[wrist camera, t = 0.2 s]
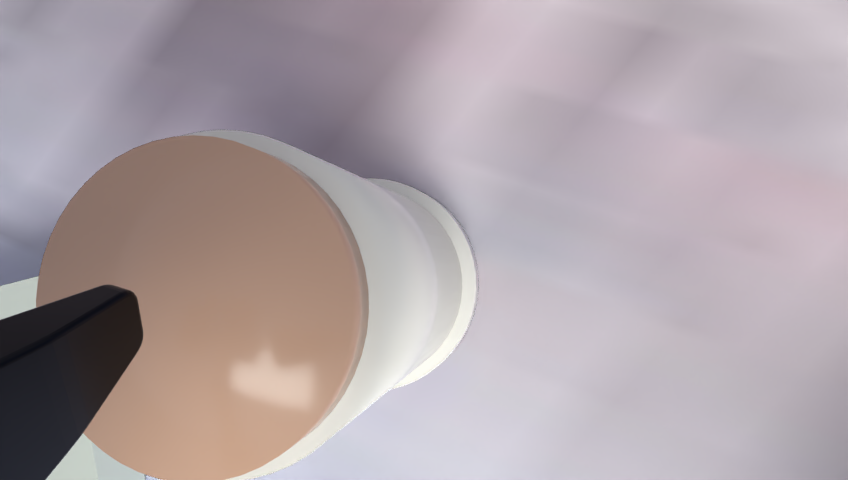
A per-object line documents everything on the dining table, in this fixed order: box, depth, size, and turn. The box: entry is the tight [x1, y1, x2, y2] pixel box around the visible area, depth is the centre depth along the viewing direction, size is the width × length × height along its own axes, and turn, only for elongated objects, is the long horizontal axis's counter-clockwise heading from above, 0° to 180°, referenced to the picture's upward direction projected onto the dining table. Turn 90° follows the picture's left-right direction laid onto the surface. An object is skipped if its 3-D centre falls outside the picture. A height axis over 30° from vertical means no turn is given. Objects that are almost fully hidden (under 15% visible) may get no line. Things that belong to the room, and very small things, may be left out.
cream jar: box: [36, 130, 479, 480], centre depth 18 cm, size 7×7×13 cm
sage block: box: [0, 276, 146, 480], centre depth 25 cm, size 12×10×2 cm
